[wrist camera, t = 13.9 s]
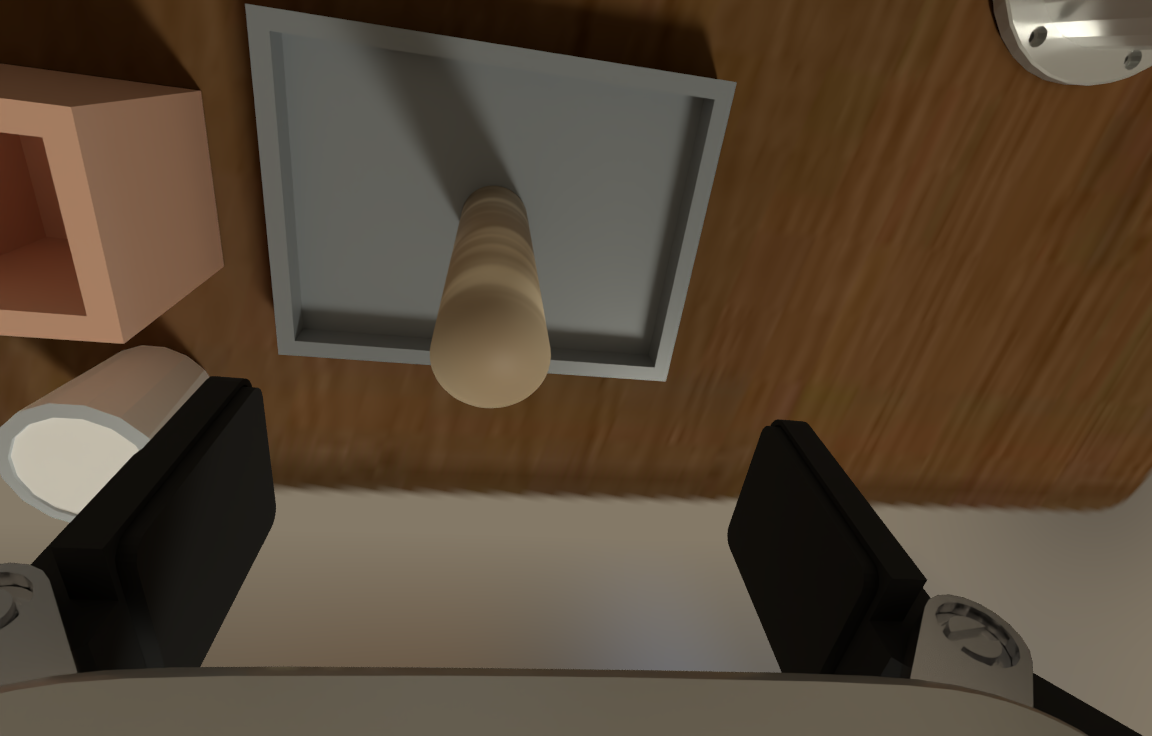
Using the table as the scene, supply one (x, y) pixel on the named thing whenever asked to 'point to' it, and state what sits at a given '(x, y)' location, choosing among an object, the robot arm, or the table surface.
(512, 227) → the dowel
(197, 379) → the cream short cylinder
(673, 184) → the tray
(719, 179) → the table surface
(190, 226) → the holder
